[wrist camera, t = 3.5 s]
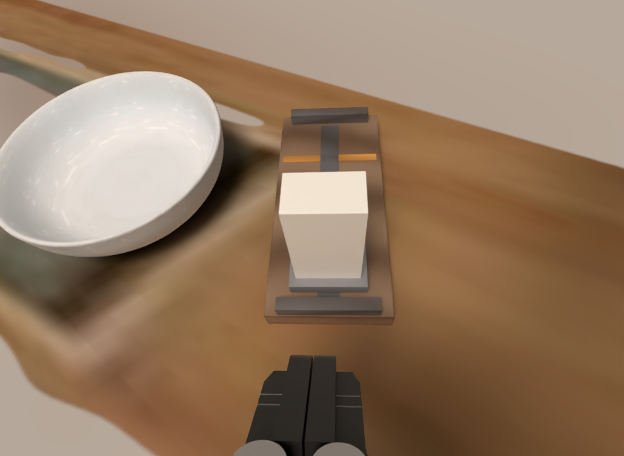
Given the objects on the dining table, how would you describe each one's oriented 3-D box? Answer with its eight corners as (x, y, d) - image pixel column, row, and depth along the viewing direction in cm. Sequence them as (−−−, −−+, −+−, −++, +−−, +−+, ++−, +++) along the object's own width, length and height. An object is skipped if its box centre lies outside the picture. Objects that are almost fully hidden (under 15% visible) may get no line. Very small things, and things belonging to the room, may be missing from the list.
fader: (367, 292, 28) (378, 223, 20) (290, 292, 29) (268, 224, 20) (364, 242, 31) (373, 161, 22) (293, 243, 31) (275, 164, 23)
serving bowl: (146, 99, 46) (117, 48, 41) (277, 162, 39) (266, 112, 33) (-1, 217, 38) (-63, 175, 32) (132, 325, 31) (83, 296, 25)
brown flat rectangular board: (391, 324, 30) (396, 311, 27) (268, 323, 30) (261, 311, 28) (375, 128, 41) (377, 105, 38) (286, 131, 42) (282, 109, 39)
